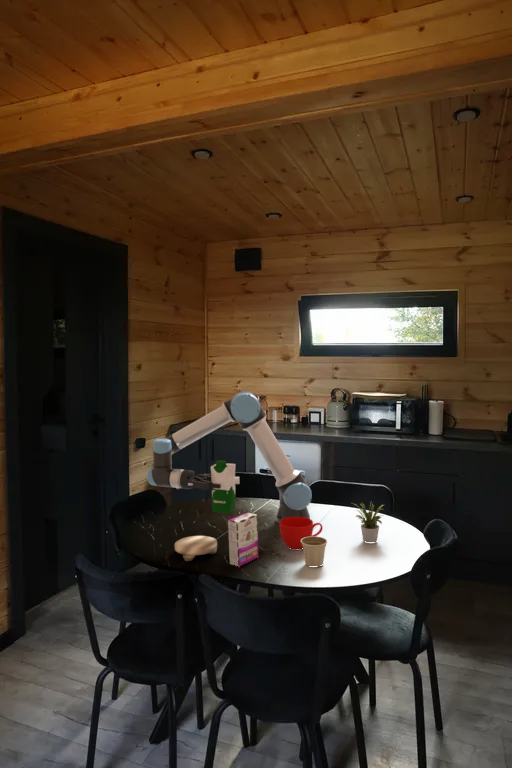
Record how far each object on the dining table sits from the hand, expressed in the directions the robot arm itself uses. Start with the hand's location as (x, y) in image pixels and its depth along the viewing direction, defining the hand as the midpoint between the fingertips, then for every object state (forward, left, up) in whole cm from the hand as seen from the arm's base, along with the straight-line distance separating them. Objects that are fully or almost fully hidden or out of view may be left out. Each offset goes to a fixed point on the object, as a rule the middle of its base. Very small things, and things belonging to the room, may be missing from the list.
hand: (234, 483), depth 205 cm
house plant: (-48, -20, -25) cm, 58 cm away
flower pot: (-34, +8, -25) cm, 43 cm away
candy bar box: (-9, +13, -25) cm, 30 cm away
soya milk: (+5, 0, -11) cm, 12 cm away
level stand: (+11, +12, -25) cm, 30 cm away
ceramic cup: (-25, -7, -25) cm, 36 cm away
